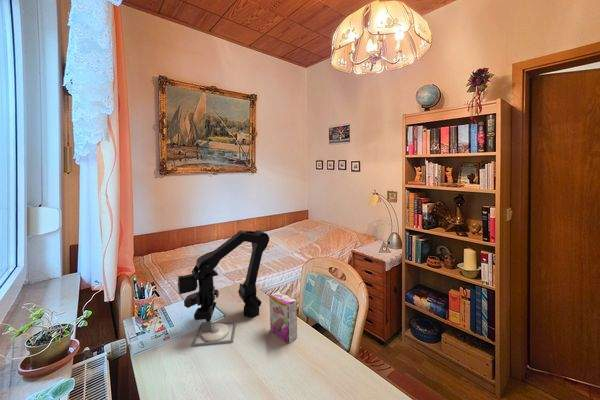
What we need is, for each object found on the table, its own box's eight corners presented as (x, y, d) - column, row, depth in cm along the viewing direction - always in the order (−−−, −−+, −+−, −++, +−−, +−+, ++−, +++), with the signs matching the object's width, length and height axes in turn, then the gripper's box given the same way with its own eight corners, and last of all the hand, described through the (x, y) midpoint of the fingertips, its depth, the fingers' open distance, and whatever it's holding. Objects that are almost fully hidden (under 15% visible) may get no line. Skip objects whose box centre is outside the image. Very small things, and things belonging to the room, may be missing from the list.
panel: (236, 324, 114) (236, 320, 114) (233, 345, 101) (232, 340, 101) (200, 327, 112) (200, 323, 112) (192, 349, 99) (191, 344, 99)
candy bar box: (269, 331, 109) (268, 294, 107) (278, 326, 113) (278, 290, 110) (288, 344, 102) (288, 304, 99) (297, 338, 105) (297, 299, 103)
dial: (230, 324, 112) (229, 313, 111) (226, 340, 102) (226, 328, 102) (205, 327, 111) (204, 315, 110) (199, 343, 101) (198, 330, 100)
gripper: (191, 278, 116) (194, 311, 118) (178, 300, 97) (181, 339, 100) (218, 276, 117) (219, 309, 120) (209, 298, 99) (211, 336, 101)
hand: (208, 322), depth 110 cm, fingers closed
